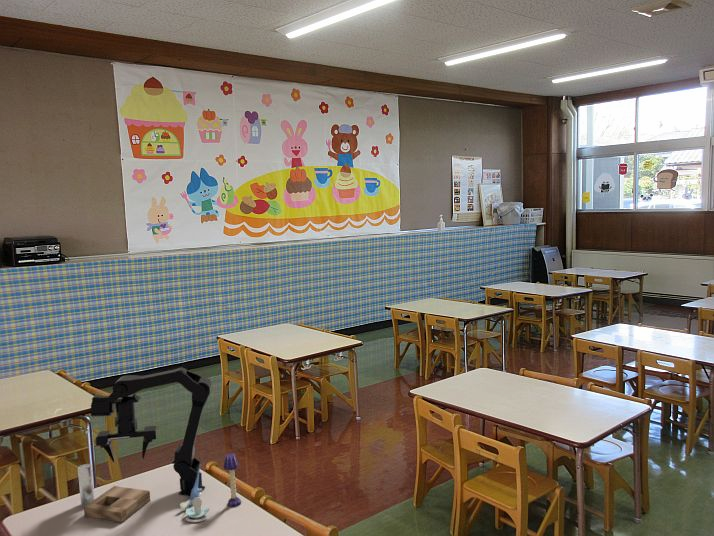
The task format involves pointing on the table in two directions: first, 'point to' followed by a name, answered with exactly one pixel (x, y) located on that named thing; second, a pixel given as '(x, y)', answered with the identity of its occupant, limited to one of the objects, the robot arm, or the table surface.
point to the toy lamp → (232, 478)
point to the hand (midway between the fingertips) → (128, 460)
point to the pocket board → (117, 504)
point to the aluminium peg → (85, 484)
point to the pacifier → (196, 511)
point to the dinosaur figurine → (192, 494)
